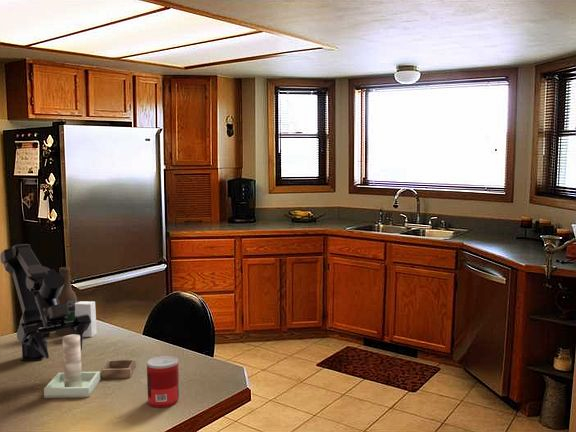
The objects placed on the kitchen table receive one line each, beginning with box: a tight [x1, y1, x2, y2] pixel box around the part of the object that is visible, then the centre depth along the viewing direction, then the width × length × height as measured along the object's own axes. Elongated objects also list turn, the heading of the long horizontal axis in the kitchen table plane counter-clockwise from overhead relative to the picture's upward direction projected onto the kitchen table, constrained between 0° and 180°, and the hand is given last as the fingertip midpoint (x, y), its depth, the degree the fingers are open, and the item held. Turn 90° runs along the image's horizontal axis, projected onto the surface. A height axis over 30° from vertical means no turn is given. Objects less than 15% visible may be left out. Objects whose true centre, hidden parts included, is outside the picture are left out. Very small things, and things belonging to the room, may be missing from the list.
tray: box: [43, 371, 101, 399], centre depth 155 cm, size 12×12×2 cm
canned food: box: [146, 355, 180, 408], centre depth 146 cm, size 8×8×11 cm
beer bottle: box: [55, 266, 78, 336], centre depth 204 cm, size 8×8×24 cm
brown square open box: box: [101, 358, 137, 379], centre depth 166 cm, size 8×8×2 cm
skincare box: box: [75, 300, 98, 338], centre depth 201 cm, size 6×4×12 cm
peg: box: [62, 334, 83, 387], centre depth 154 cm, size 4×4×14 cm
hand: (64, 354), depth 158 cm, fingers open, 9 cm apart
